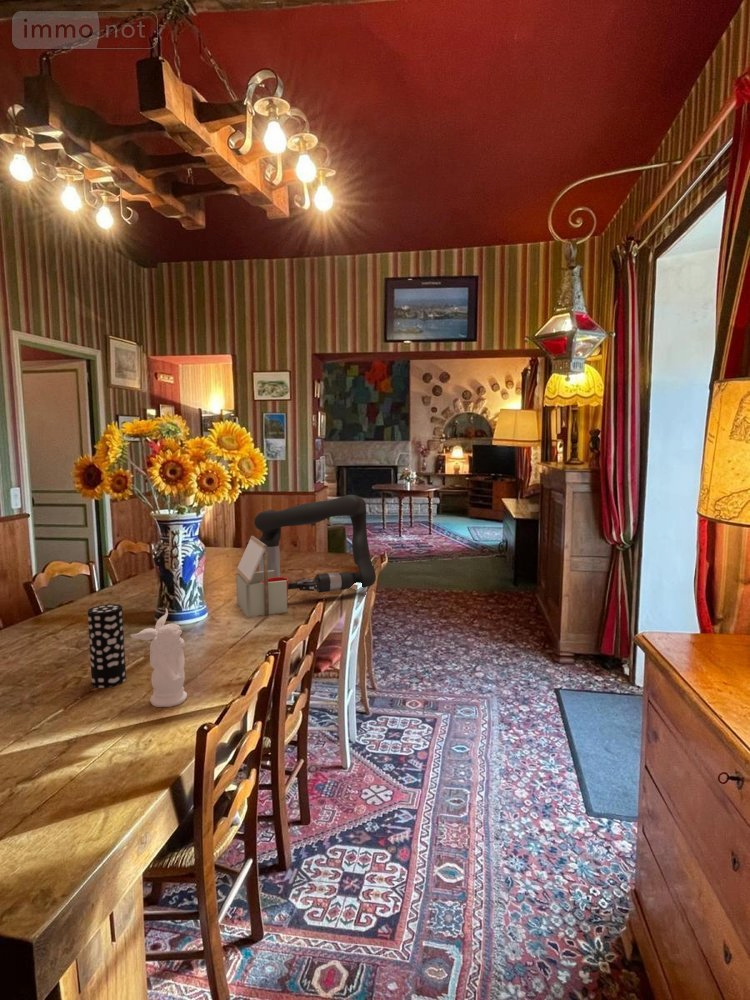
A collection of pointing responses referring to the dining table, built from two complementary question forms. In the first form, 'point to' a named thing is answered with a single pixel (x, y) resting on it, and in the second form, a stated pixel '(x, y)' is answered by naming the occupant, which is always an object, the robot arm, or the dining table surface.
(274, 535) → the robot arm
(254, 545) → the lid
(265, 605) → the prop stick
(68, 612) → the dining table surface
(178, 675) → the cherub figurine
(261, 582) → the flower pot
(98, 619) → the white-spotted black cylinder
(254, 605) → the cold frame
